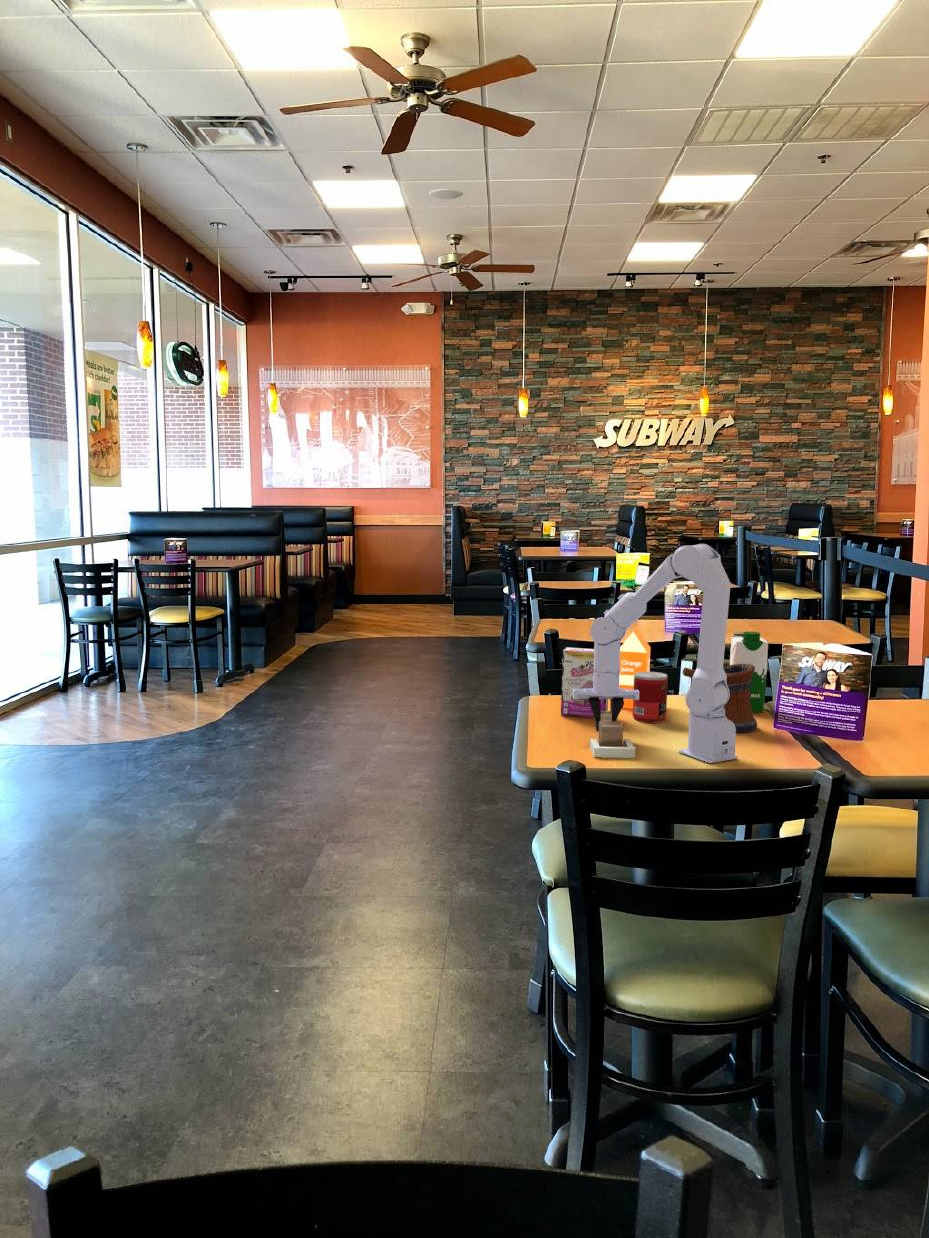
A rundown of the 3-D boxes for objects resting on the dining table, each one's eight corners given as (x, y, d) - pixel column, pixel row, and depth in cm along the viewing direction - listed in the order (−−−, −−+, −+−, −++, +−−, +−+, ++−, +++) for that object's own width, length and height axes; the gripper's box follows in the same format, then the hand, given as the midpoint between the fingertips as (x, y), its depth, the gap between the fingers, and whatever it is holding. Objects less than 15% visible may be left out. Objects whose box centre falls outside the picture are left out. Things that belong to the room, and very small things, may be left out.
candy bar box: (560, 716, 228) (561, 650, 225) (563, 711, 232) (564, 646, 230) (606, 719, 225) (608, 652, 223) (608, 714, 230) (610, 649, 227)
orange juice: (614, 707, 238) (616, 629, 235) (619, 700, 246) (621, 625, 243) (645, 709, 235) (648, 631, 233) (649, 702, 244) (651, 626, 241)
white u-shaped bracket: (634, 758, 192) (635, 748, 192) (594, 757, 192) (594, 748, 192) (629, 748, 200) (629, 738, 199) (589, 747, 200) (590, 738, 200)
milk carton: (731, 712, 233) (735, 633, 230) (725, 704, 242) (729, 628, 239) (767, 713, 232) (771, 634, 229) (760, 705, 241) (764, 629, 238)
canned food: (666, 723, 221) (667, 678, 220) (632, 721, 223) (633, 676, 221) (665, 716, 229) (667, 672, 227) (632, 714, 230) (634, 670, 229)
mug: (689, 734, 211) (692, 669, 209) (672, 722, 223) (675, 660, 220) (765, 733, 213) (769, 669, 211) (745, 721, 224) (748, 659, 222)
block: (622, 752, 196) (623, 724, 196) (600, 751, 196) (601, 724, 196) (614, 737, 208) (615, 711, 207) (594, 737, 208) (594, 710, 207)
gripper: (636, 667, 210) (634, 726, 211) (572, 666, 210) (570, 725, 212) (641, 673, 203) (639, 734, 205) (575, 673, 203) (573, 733, 205)
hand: (604, 730), depth 208 cm, fingers closed on block, 2 cm apart
